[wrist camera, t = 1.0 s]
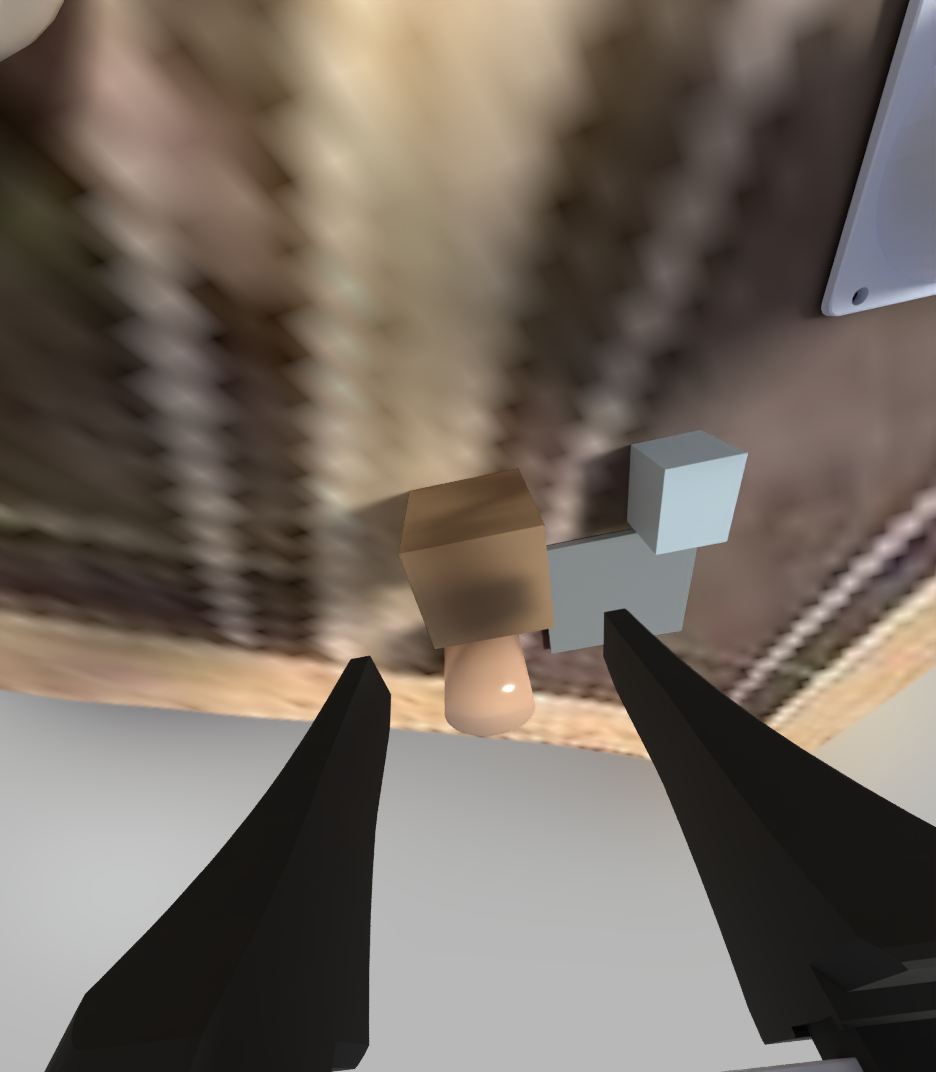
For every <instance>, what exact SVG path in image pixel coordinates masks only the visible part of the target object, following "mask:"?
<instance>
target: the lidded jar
mask: <svg viewBox="0 0 936 1072" xmlns="http://www.w3.org/2000/svg"><path fill="white" fill-rule="evenodd" d="M63 2H64V0H0V62H1V61H2V60H4V59H6V58H8V57H9V56H11V55H13V54H14V53H16V52H18V51H20V50H21V49H23V48H25V47H26V46H28V45H29V44H31V43H32V42H34V41H35V40H36V39H37V38H38V37H39V36H40V35H41V34H42V33H43V31H44V30H45V29H46V28H47V27H48V26H49V25H50V24H51V23H52V22H53V21H54V19H55V17H56V16H57V14H58V12H59V10H60V8H61V6H62V4H63Z"/></svg>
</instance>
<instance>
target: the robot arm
mask: <svg viewBox="0 0 936 1072" xmlns="http://www.w3.org/2000/svg"><path fill="white" fill-rule="evenodd" d="M857 291H858V293H857V296H856V298H855V300H854V301H853V302H852V298H853V296H854V294H855V293H856V292H857ZM931 295H936V0H910V1H909V4H908V8H907V11H906V15H905V18H904V22H903V25H902V29H901V32H900V35H899V39H898V42H897V46H896V49H895V53H894V56H893V60H892V63H891V67H890V70H889V73H888V77H887V80H886V84H885V87H884V91H883V94H882V98H881V101H880V104H879V108H878V111H877V115H876V118H875V122H874V125H873V129H872V132H871V135H870V139H869V142H868V146H867V149H866V153H865V156H864V160H863V163H862V166H861V170H860V173H859V177H858V180H857V184H856V187H855V191H854V194H853V198H852V201H851V204H850V208H849V211H848V215H847V218H846V222H845V225H844V229H843V232H842V235H841V239H840V242H839V246H838V249H837V253H836V256H835V260H834V263H833V266H832V270H831V273H830V277H829V280H828V284H827V287H826V291H825V294H824V298H823V301H822V306H821V310H822V313H823V314H824V315H826V316H842V315H846V314H851V313H855V312H860V311H864V310H869V309H873V308H878V307H882V306H887V305H891V304H896V303H900V302H905V301H909V300H913V299H918V298H922V297H927V296H931ZM603 657H604V659H605V662H606V665H607V667H608V670H609V673H610V675H611V678H612V681H613V683H614V686H615V688H616V691H617V693H618V695H619V697H620V699H621V701H622V703H623V705H624V707H625V709H626V711H627V713H628V715H629V717H630V718H631V720H632V722H633V724H634V726H635V728H636V730H637V732H638V734H639V736H640V738H641V740H642V742H643V744H644V746H645V748H646V750H647V752H648V754H649V756H650V758H651V760H652V762H653V764H654V766H655V768H656V770H657V772H658V774H659V776H660V778H661V780H662V783H663V785H664V787H665V789H666V792H667V794H668V797H669V799H670V802H671V804H672V806H673V809H674V812H675V814H676V816H677V819H678V821H679V824H680V826H681V829H682V831H683V834H684V836H685V839H686V841H687V843H688V846H689V849H690V851H691V854H692V856H693V859H694V862H695V864H696V866H697V869H698V872H699V874H700V877H701V880H702V882H703V885H704V888H705V890H706V893H707V895H708V898H709V901H710V904H711V906H712V909H713V911H714V914H715V917H716V919H717V922H718V925H719V927H720V930H721V933H722V936H723V939H724V941H725V944H726V947H727V950H728V952H729V955H730V958H731V961H732V964H733V966H734V969H735V972H736V975H737V977H738V980H739V983H740V986H741V989H742V992H743V995H744V997H745V1000H746V1003H747V1006H748V1009H749V1011H750V1013H751V1016H752V1018H753V1020H754V1022H755V1025H756V1027H757V1029H758V1031H759V1034H760V1036H761V1038H762V1041H763V1042H764V1044H774V1043H782V1042H792V1041H800V1040H809V1039H812V1040H813V1042H814V1044H815V1045H816V1048H817V1050H818V1052H819V1054H820V1056H821V1058H822V1061H813V1062H804V1063H796V1064H786V1065H778V1066H770V1067H760V1068H751V1069H743V1070H733V1071H725V1072H936V827H935V826H933V825H931V824H929V823H927V822H925V821H923V820H922V819H920V818H918V817H916V816H914V815H912V814H911V813H909V812H907V811H905V810H904V809H902V808H900V807H898V806H897V805H895V804H893V803H891V802H890V801H888V800H886V799H885V798H883V797H881V796H879V795H877V794H876V793H874V792H872V791H871V790H869V789H867V788H865V787H863V786H862V785H860V784H859V783H857V782H855V781H854V780H852V779H851V778H849V777H847V776H846V775H844V774H842V773H840V772H839V771H837V770H836V769H834V768H832V767H831V766H829V765H828V764H826V763H824V762H823V761H821V760H819V759H818V758H816V757H815V756H813V755H811V754H810V753H808V752H807V751H805V750H803V749H802V748H800V747H799V746H797V745H796V744H794V743H793V742H791V741H790V740H788V739H787V738H785V737H784V736H782V735H781V734H779V733H778V732H776V731H775V730H773V729H772V728H770V727H769V726H767V725H766V724H765V723H763V722H762V721H760V720H759V719H757V718H756V717H755V716H753V715H752V714H750V713H749V712H747V711H746V710H745V709H743V708H742V707H741V706H739V705H738V704H737V703H735V702H734V701H733V700H731V699H730V698H729V697H727V696H726V695H725V694H723V693H722V692H721V691H720V690H718V689H717V688H716V687H714V686H713V685H712V684H711V683H709V682H708V681H707V680H706V679H704V678H703V677H702V676H701V675H699V674H698V673H697V672H696V671H694V670H693V669H692V668H691V667H690V666H689V665H687V664H686V663H685V662H684V661H683V660H681V659H680V658H679V657H678V656H677V655H676V654H674V653H673V652H672V651H671V650H670V649H669V648H668V647H666V646H665V645H664V644H663V643H662V642H661V641H660V640H659V639H658V638H657V637H655V636H654V635H653V634H652V633H651V632H650V631H649V630H648V629H647V628H646V627H645V626H644V625H643V624H642V623H640V622H639V621H638V620H637V619H636V618H635V617H634V616H633V615H632V614H631V613H630V612H629V611H628V610H627V609H625V608H624V609H618V610H613V611H607V612H604V650H603ZM390 713H391V694H390V692H389V690H388V688H387V686H386V684H385V682H384V681H383V679H382V677H381V675H380V673H379V671H378V669H377V668H376V666H375V664H374V662H373V660H372V658H371V656H365V657H360V658H355V659H351V660H350V661H349V663H348V665H347V666H346V668H345V670H344V671H343V673H342V675H341V677H340V678H339V680H338V682H337V684H336V685H335V687H334V689H333V690H332V692H331V694H330V695H329V697H328V699H327V701H326V702H325V704H324V706H323V707H322V709H321V711H320V712H319V714H318V715H317V717H316V719H315V720H314V722H313V724H312V726H311V727H310V728H309V730H308V732H307V733H306V735H305V736H304V738H303V740H302V741H301V743H300V744H299V746H298V747H297V749H296V750H295V752H294V753H293V755H292V756H291V758H290V759H289V760H288V762H287V763H286V765H285V767H284V768H283V769H282V771H281V772H280V774H279V775H278V777H277V778H276V779H275V781H274V782H273V784H272V785H271V786H270V788H269V789H268V790H267V792H266V793H265V794H264V796H263V797H262V798H261V800H260V801H259V802H258V804H257V805H256V806H255V808H254V809H253V810H252V812H251V813H250V814H249V815H248V817H247V818H246V819H245V820H244V822H243V823H242V824H241V825H240V827H239V828H238V829H237V830H236V832H235V833H234V834H233V835H232V837H231V838H230V839H229V840H228V841H227V843H226V844H225V845H224V846H223V848H222V849H221V850H220V851H219V852H218V853H217V855H216V856H215V857H214V858H213V860H212V861H211V862H210V863H209V864H208V865H207V866H206V867H205V869H204V870H203V871H202V872H201V873H200V874H199V875H198V876H197V878H196V879H195V880H194V881H193V882H192V883H191V884H190V885H189V886H188V888H187V889H186V890H185V891H184V892H183V893H182V895H180V897H179V898H178V899H177V900H176V901H175V902H174V903H173V905H171V907H170V908H169V909H168V910H167V911H166V912H165V913H164V914H163V915H162V916H161V917H160V918H159V919H158V921H157V922H156V923H155V924H154V925H153V926H152V927H151V928H150V929H149V930H148V931H147V932H146V933H145V934H144V935H143V936H142V937H141V938H140V939H139V940H138V941H137V942H136V943H135V944H134V945H133V946H132V947H131V948H130V949H129V950H128V951H127V952H126V954H124V955H123V956H122V957H121V959H120V960H119V961H118V962H117V963H116V964H115V965H114V966H113V967H112V968H111V969H110V970H109V971H108V972H107V973H106V974H105V975H104V976H103V977H102V978H101V979H100V980H99V981H98V982H97V983H96V984H95V985H94V986H93V987H92V988H91V989H90V990H89V991H88V992H87V993H86V994H85V995H84V997H83V999H82V1001H81V1003H80V1004H79V1006H78V1008H77V1010H76V1012H75V1014H74V1016H73V1018H72V1020H71V1022H70V1024H69V1026H68V1028H67V1030H66V1031H65V1033H64V1035H63V1037H62V1039H61V1041H60V1043H59V1045H58V1047H57V1049H56V1051H55V1053H54V1055H53V1057H52V1058H51V1060H50V1062H49V1064H48V1066H47V1068H46V1070H45V1072H333V1071H341V1070H350V1069H355V1068H356V1067H357V1066H358V1064H359V1063H360V1061H361V1059H362V1058H363V1056H364V1054H365V1052H366V1050H367V1048H368V1046H369V959H370V919H371V898H372V877H373V860H374V844H375V830H376V821H377V813H378V806H379V798H380V792H381V786H382V779H383V772H384V765H385V759H386V752H387V745H388V738H389V731H390Z"/></svg>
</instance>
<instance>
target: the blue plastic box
mask: <svg viewBox="0 0 936 1072" xmlns="http://www.w3.org/2000/svg"><path fill="white" fill-rule="evenodd" d="M747 455H748V452H746V451H743V450H741V449H739V448H737V447H735V446H733V445H731V444H729V443H727V442H725V441H723V440H721V439H718V438H716V437H714V436H712V435H710V434H708V433H706V432H704V431H702V430H698V431H693V432H688V433H684V434H679V435H674V436H669V437H665V438H660V439H655V440H650V441H645V442H641V443H636V444H631V454H630V473H629V492H628V510H627V522H628V523H629V524H630V525H631V527H632V528H633V529H634V530H635V531H636V532H637V534H638V535H639V536H640V537H641V538H642V539H643V541H644V542H645V543H646V544H647V545H648V546H649V548H650V549H651V550H652V551H653V552H654V553H655V555H658V554H664V553H669V552H674V551H679V550H684V549H690V548H695V547H700V546H705V545H711V544H716V543H721V542H726V541H727V539H728V535H729V530H730V526H731V522H732V518H733V514H734V510H735V505H736V501H737V497H738V493H739V489H740V484H741V480H742V476H743V472H744V468H745V464H746V459H747Z"/></svg>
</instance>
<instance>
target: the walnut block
mask: <svg viewBox="0 0 936 1072" xmlns="http://www.w3.org/2000/svg"><path fill="white" fill-rule="evenodd" d="M398 554H399V557H400V560H401V562H402V565H403V567H404V570H405V573H406V575H407V578H408V581H409V583H410V586H411V589H412V591H413V594H414V596H415V599H416V602H417V604H418V607H419V610H420V612H421V615H422V617H423V620H424V623H425V625H426V628H427V631H428V633H429V636H430V638H431V641H432V644H433V646H434V649H439V648H445V647H450V646H456V645H461V644H467V643H472V642H478V641H483V640H489V639H494V638H500V637H505V636H511V635H516V634H522V633H527V632H533V631H538V630H544V629H549V628H554V619H553V609H552V598H551V588H550V577H549V567H548V556H547V546H546V536H545V525H544V523H543V521H542V519H541V516H540V514H539V512H538V510H537V508H536V505H535V503H534V501H533V499H532V497H531V495H530V492H529V490H528V488H527V486H526V484H525V481H524V479H523V477H522V475H521V473H520V471H519V468H517V469H512V470H507V471H503V472H498V473H493V474H488V475H483V476H479V477H474V478H469V479H464V480H460V481H455V482H450V483H445V484H440V485H436V486H431V487H426V488H421V489H417V490H412V491H410V493H409V498H408V504H407V509H406V515H405V520H404V526H403V531H402V537H401V542H400V548H399V553H398Z"/></svg>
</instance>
